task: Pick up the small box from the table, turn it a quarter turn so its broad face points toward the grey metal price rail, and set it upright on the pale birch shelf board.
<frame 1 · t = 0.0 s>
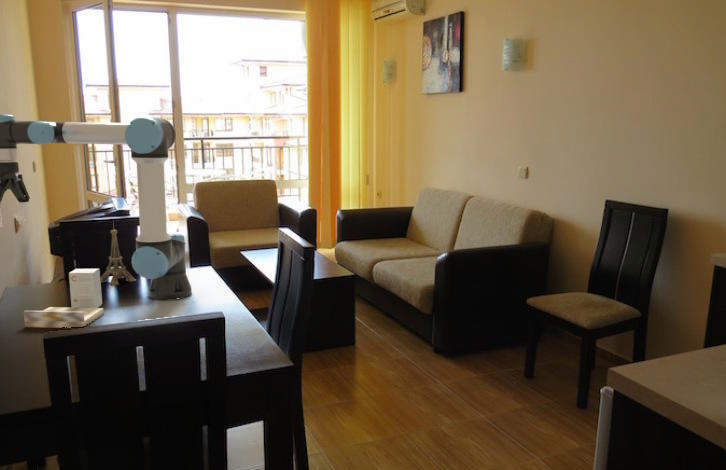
hand: (10, 223, 196), 28 cm above the table, tool pointing down, fingers open, 13 cm apart
small box: (87, 307, 197), on the table
eiffel tower: (116, 281, 232), on the table
shelf board: (65, 320, 184), on the table
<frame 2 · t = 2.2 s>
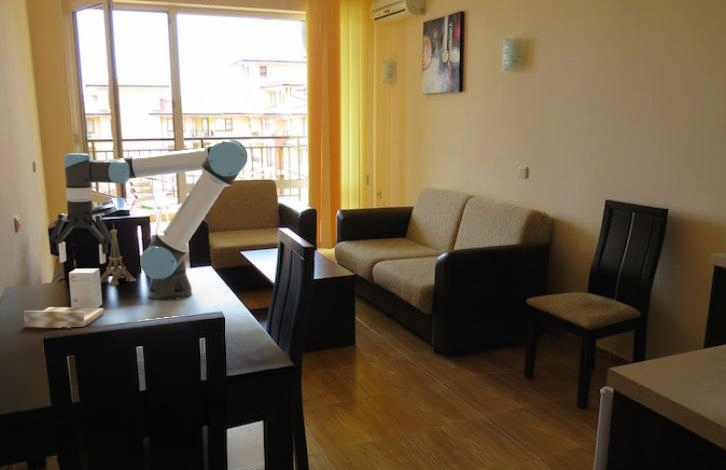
hand: (83, 262, 195), 16 cm above the table, tool pointing down, fingers open, 13 cm apart
nothing on the table moved.
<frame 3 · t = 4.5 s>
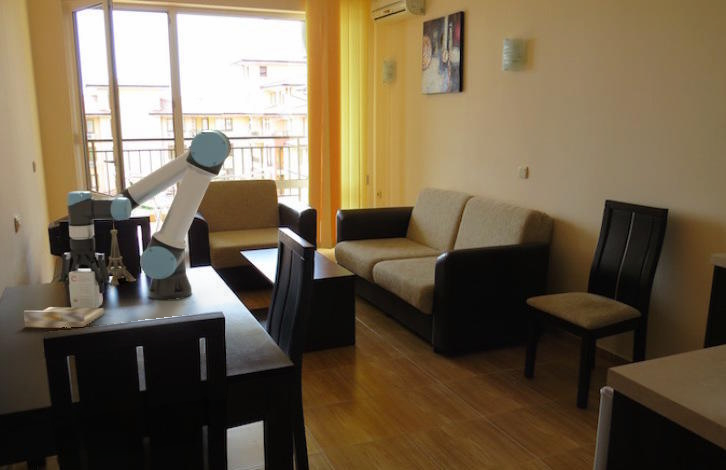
hand: (86, 301, 197), 2 cm above the table, tool pointing down, fingers closed on small box, 8 cm apart
small box: (87, 307, 197), on the table, touching gripper
everything else where it was.
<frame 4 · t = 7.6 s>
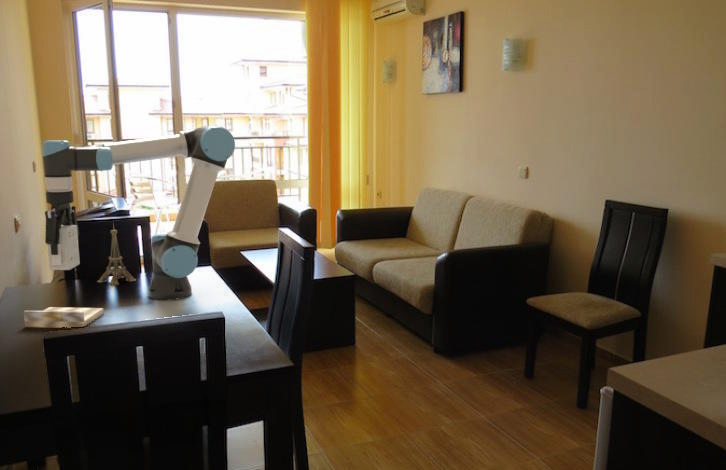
hand: (64, 261, 182), 19 cm above the table, tool pointing down, fingers closed on small box, 8 cm apart
small box: (65, 267, 183), point 17 cm above the table, touching gripper
everything else where it was.
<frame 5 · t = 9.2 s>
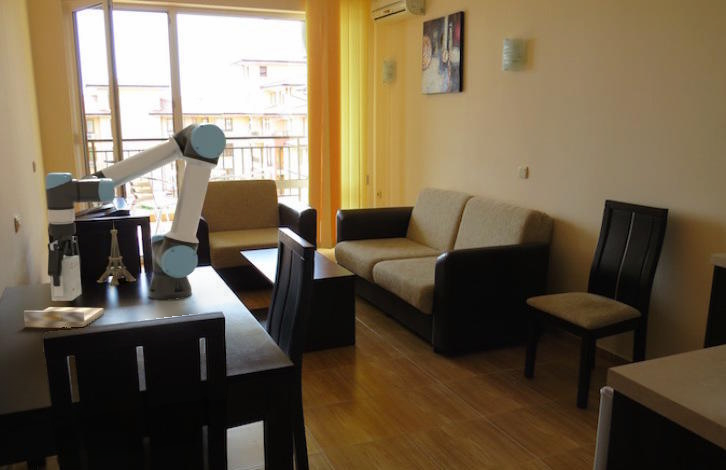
hand: (66, 291, 184), 9 cm above the table, tool pointing down, fingers closed on small box, 8 cm apart
small box: (66, 297, 184), point 7 cm above the table, touching gripper
everything else where it was.
when the fingers open (5 cm above the table, at t = 10.8 s): small box drops 1 cm, resting on shelf board.
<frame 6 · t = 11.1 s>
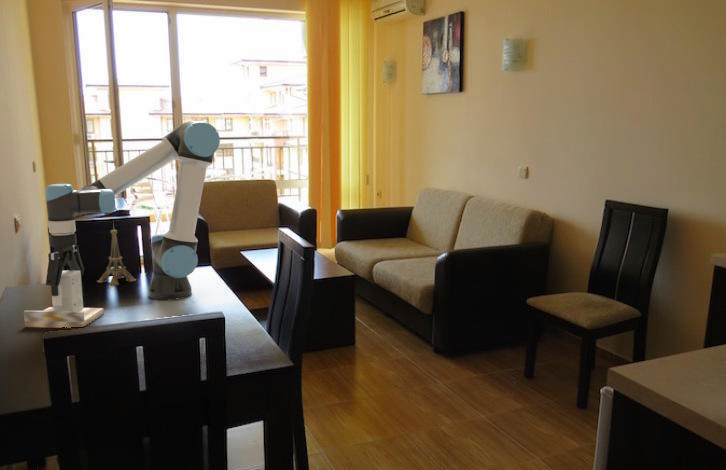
hand: (67, 299, 185), 6 cm above the table, tool pointing down, fingers open, 11 cm apart
small box: (68, 312, 185), point 2 cm above the table, touching shelf board
everything else where it was.
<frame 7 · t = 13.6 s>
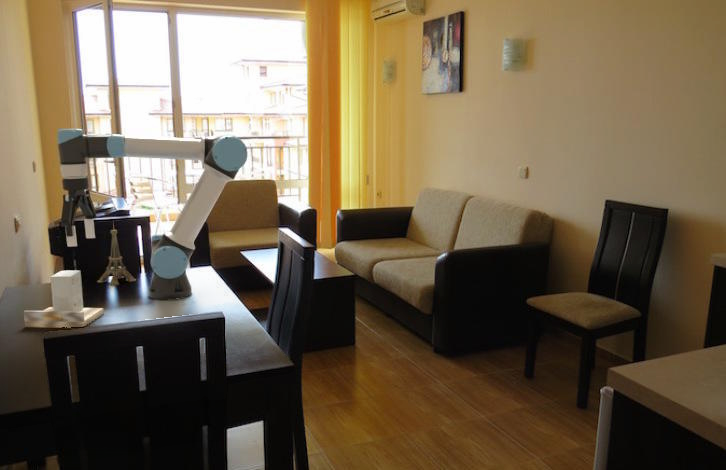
hand: (81, 242, 189), 24 cm above the table, tool pointing down, fingers open, 13 cm apart
nothing on the table moved.
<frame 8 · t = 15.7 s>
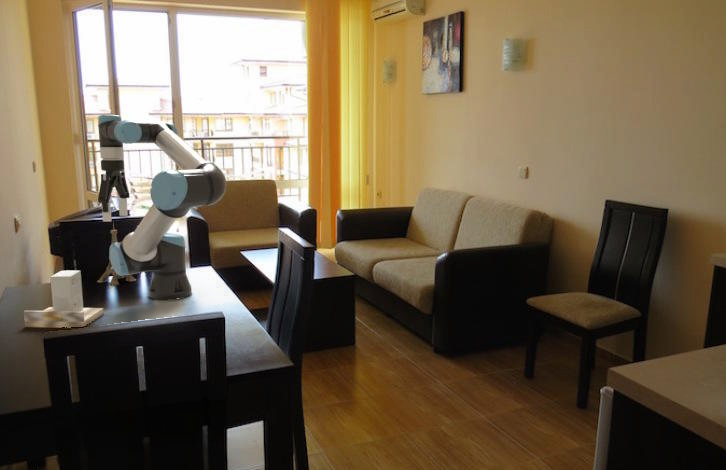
hand: (115, 218, 207), 29 cm above the table, tool pointing down, fingers open, 13 cm apart
nothing on the table moved.
at the end: small box inside the target area on the shelf board (0.5 cm from its centre), point 1.8 cm above the shelf board's base; small box tilted 0°; the gripper is holding nothing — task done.
